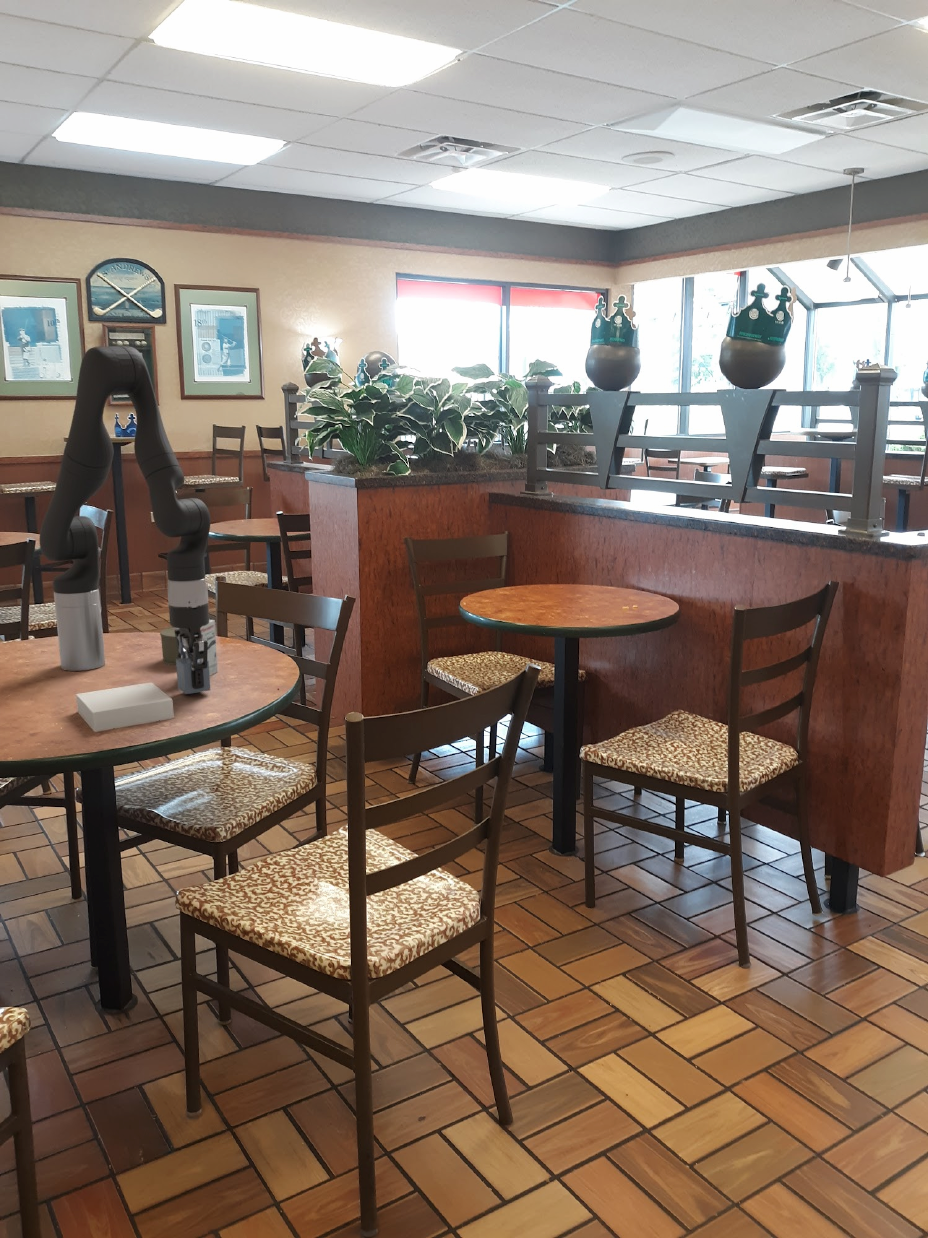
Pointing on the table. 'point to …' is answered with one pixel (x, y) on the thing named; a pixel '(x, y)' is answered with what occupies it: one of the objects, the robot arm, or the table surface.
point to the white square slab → (124, 706)
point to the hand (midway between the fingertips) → (193, 684)
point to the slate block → (185, 677)
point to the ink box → (210, 645)
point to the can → (169, 646)
